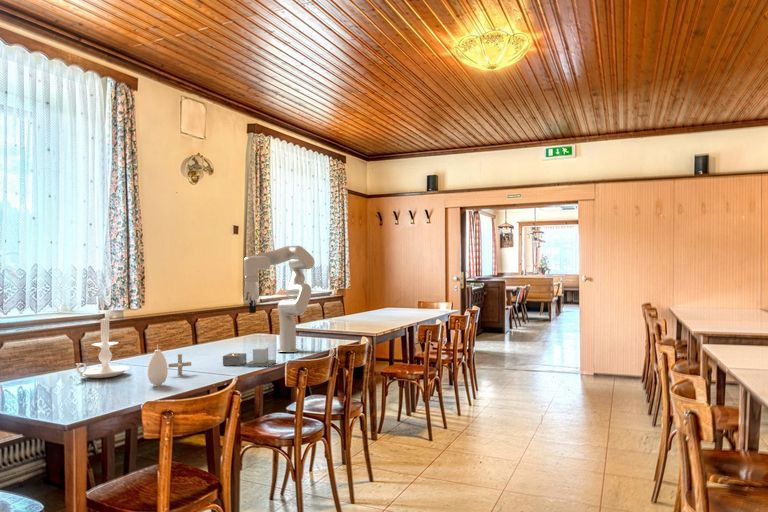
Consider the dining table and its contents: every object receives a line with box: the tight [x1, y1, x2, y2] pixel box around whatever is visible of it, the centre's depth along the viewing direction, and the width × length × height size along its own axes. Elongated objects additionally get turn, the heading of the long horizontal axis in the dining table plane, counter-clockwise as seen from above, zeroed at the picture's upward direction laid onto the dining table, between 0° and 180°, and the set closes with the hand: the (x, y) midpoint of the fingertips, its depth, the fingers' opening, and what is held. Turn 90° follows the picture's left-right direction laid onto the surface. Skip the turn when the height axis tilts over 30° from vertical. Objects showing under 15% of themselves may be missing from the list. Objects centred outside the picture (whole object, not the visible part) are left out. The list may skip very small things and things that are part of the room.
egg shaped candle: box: [147, 343, 169, 387], centre depth 223 cm, size 8×8×18 cm
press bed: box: [244, 359, 277, 367], centre depth 269 cm, size 12×12×2 cm
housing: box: [252, 346, 269, 363], centre depth 270 cm, size 6×6×7 cm
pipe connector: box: [167, 353, 192, 376], centre depth 245 cm, size 10×10×10 cm
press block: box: [222, 352, 247, 366], centre depth 272 cm, size 9×9×5 cm
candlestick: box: [75, 317, 130, 379], centre depth 244 cm, size 21×25×28 cm
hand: (252, 312), depth 284 cm, fingers closed
